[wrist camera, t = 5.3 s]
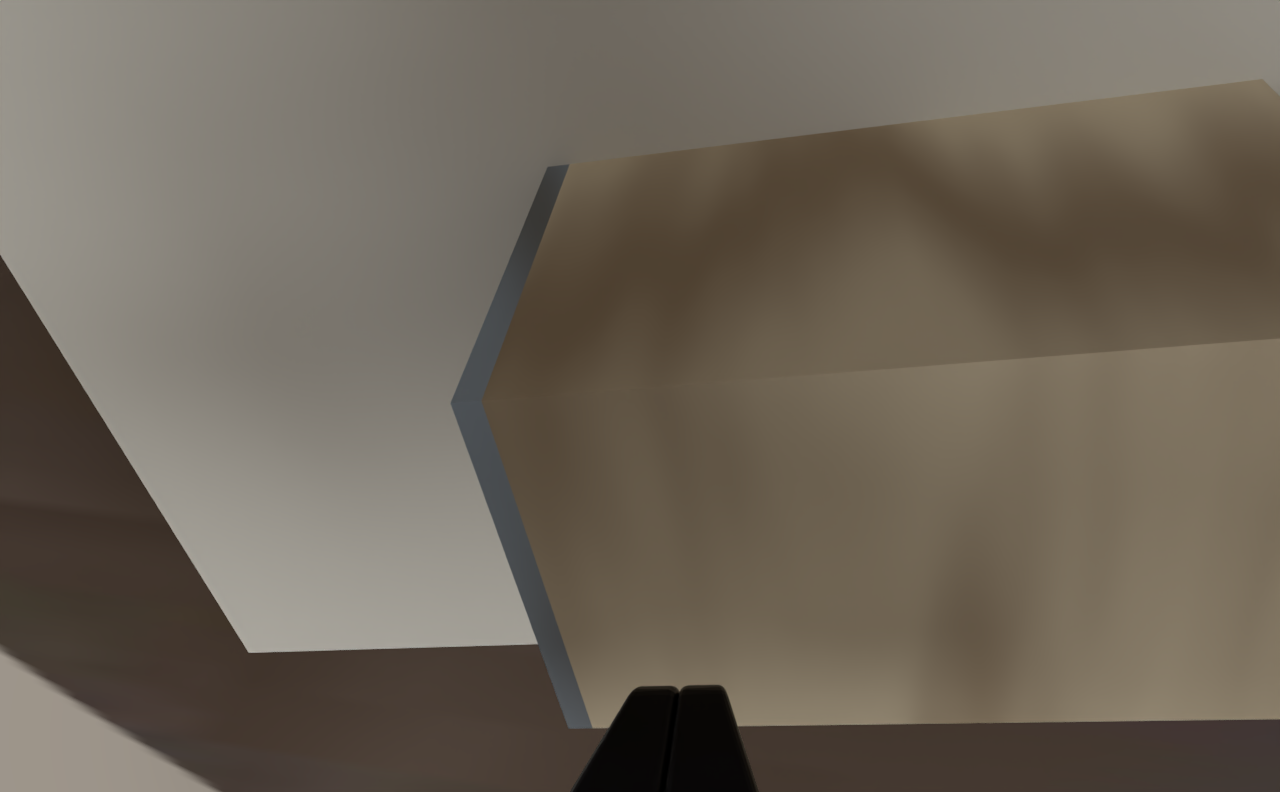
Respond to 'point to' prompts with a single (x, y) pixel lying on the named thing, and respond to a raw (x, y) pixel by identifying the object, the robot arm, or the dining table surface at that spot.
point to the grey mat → (426, 230)
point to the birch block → (903, 418)
